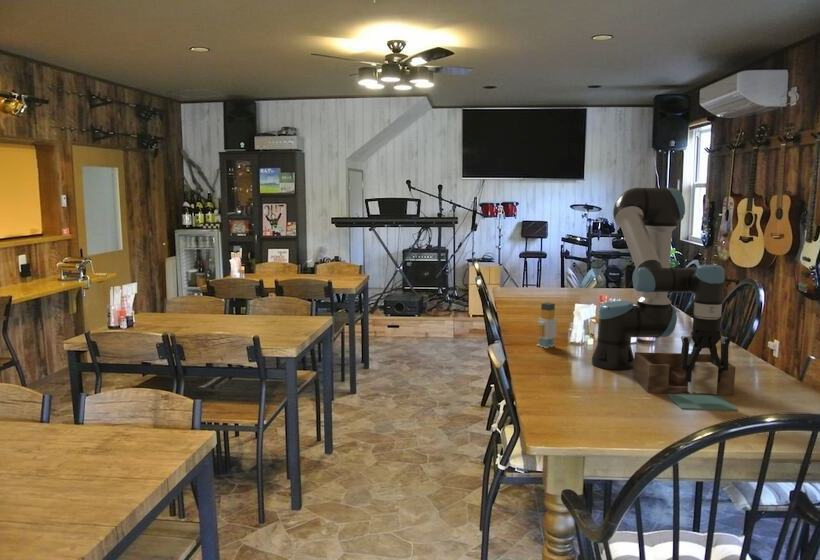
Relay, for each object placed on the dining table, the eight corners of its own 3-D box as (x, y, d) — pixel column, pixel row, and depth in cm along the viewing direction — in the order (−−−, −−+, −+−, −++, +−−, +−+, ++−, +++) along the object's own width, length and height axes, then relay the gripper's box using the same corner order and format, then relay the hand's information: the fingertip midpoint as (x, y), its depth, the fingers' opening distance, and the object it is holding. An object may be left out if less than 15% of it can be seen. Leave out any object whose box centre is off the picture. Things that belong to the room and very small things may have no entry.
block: (695, 393, 190) (697, 366, 189) (688, 387, 196) (689, 361, 194) (716, 393, 189) (718, 367, 188) (708, 387, 195) (710, 362, 194)
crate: (647, 392, 203) (649, 364, 201) (633, 377, 219) (634, 352, 218) (733, 394, 201) (735, 367, 200) (712, 380, 217) (714, 354, 216)
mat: (681, 409, 187) (681, 407, 187) (666, 395, 200) (666, 394, 200) (737, 410, 186) (737, 409, 186) (719, 396, 199) (719, 395, 199)
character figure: (535, 348, 260) (537, 304, 257) (537, 342, 270) (538, 300, 267) (555, 349, 258) (557, 305, 255) (556, 344, 268) (557, 301, 265)
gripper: (678, 318, 186) (673, 395, 189) (745, 320, 185) (739, 397, 188) (670, 314, 194) (665, 388, 197) (734, 315, 193) (729, 389, 196)
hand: (701, 392), depth 192 cm, fingers closed on block, 6 cm apart
